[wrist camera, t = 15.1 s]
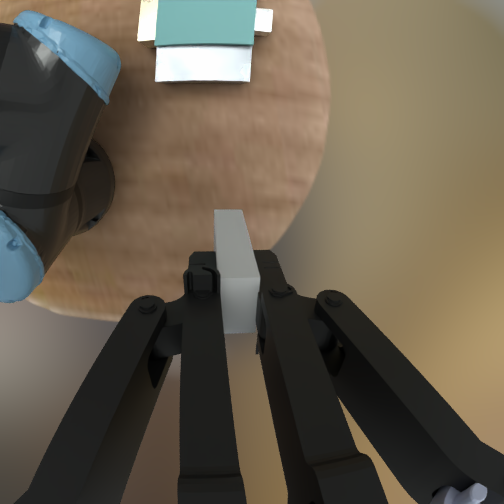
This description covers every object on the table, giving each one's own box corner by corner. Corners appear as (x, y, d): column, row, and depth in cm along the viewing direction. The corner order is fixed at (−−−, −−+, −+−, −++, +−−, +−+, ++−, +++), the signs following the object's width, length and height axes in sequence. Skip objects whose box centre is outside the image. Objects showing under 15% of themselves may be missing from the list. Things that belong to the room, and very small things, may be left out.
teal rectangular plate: (156, 46, 26) (154, 45, 25) (162, -17, 22) (160, -20, 21) (252, 45, 26) (253, 44, 25) (257, -18, 22) (258, -21, 22)
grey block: (165, 83, 35) (155, 81, 28) (173, -22, 27) (166, -44, 20) (242, 83, 36) (249, 81, 29) (249, -21, 28) (258, -43, 21)
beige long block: (147, 48, 31) (137, 41, 25) (151, 7, 28) (142, -6, 22) (263, 48, 33) (273, 41, 27) (266, 8, 30) (276, -5, 25)
